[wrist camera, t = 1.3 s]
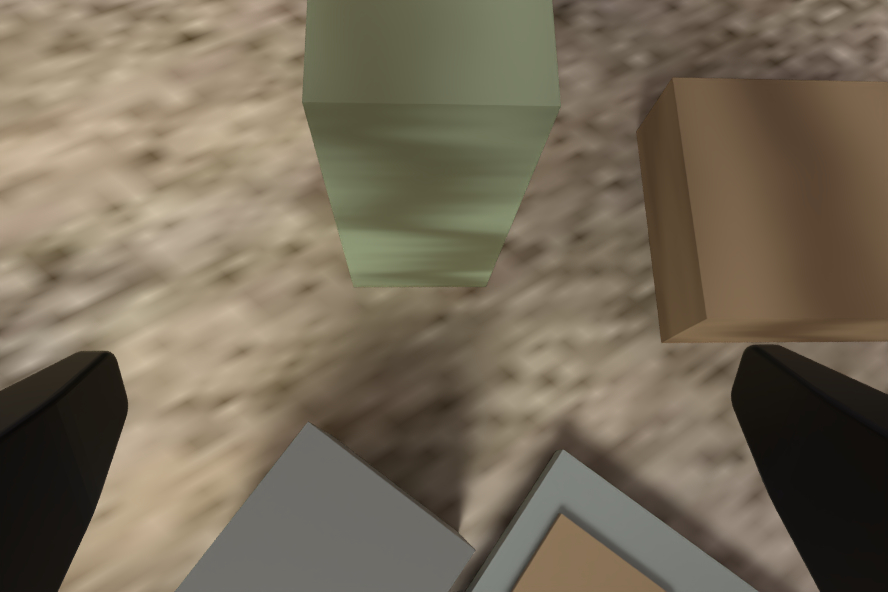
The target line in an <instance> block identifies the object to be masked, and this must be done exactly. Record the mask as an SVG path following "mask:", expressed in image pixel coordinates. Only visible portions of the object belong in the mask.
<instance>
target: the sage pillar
mask: <svg viewBox="0 0 888 592" xmlns="http://www.w3.org/2000/svg"><path fill="white" fill-rule="evenodd" d="M302 103H303V107H304V110H305V114H306V117H307V121H308V125H309V128H310V132H311V135H312V139H313V143H314V146H315V150H316V153H317V157H318V160H319V164H320V168H321V171H322V175H323V178H324V182H325V186H326V189H327V193H328V196H329V200H330V204H331V207H332V211H333V214H334V218H335V222H336V225H337V229H338V232H339V236H340V239H341V243H342V247H343V250H344V254H345V257H346V261H347V265H348V268H349V272H350V275H351V279H352V283H353V286H354V287H486V285H487V283H488V280H489V278H490V275H491V273H492V271H493V268H494V266H495V263H496V261H497V259H498V256H499V254H500V251H501V249H502V247H503V244H504V242H505V239H506V237H507V235H508V232H509V230H510V227H511V225H512V222H513V220H514V218H515V215H516V213H517V210H518V208H519V206H520V203H521V201H522V198H523V196H524V194H525V191H526V189H527V186H528V184H529V182H530V179H531V177H532V174H533V172H534V170H535V167H536V165H537V162H538V160H539V158H540V155H541V153H542V150H543V148H544V145H545V143H546V141H547V138H548V136H549V133H550V131H551V129H552V126H553V124H554V121H555V119H556V117H557V114H558V112H559V109H560V107H561V102H560V90H559V78H558V66H557V54H556V42H555V30H554V18H553V6H552V0H307V18H306V37H305V57H304V77H303V97H302Z"/></svg>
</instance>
